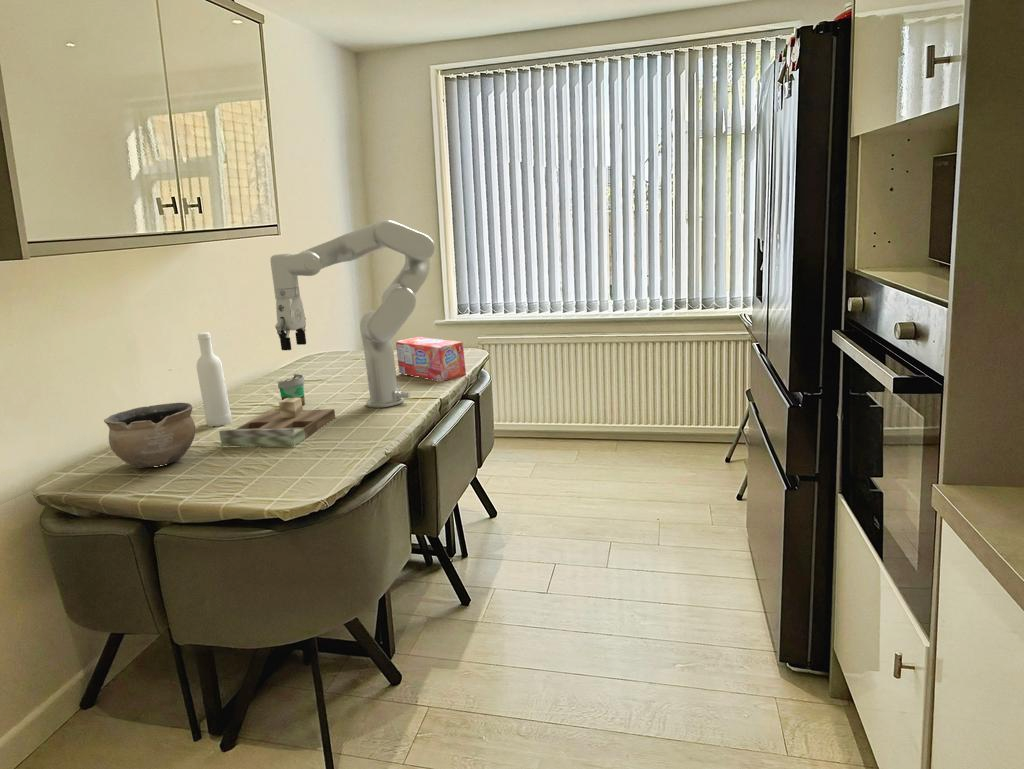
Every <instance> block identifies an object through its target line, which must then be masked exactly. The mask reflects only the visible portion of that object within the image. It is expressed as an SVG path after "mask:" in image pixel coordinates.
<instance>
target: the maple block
mask: <svg viewBox="0 0 1024 769" xmlns="http://www.w3.org/2000/svg"><path fill="white" fill-rule="evenodd" d="M278 405H279V411H280V413H281V418H291V417H297V416H299V415H301V414H302V413H303V410H304V408H303V406H302V401H301V398H286V399H284V400H282V399H281V401H279V402H278Z"/></svg>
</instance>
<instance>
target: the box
mask: <svg viewBox="0 0 1024 769" xmlns="http://www.w3.org/2000/svg"><path fill="white" fill-rule="evenodd" d="M395 345H396V346H395V347H396V354H397V355H396V356H397V365H398V366H397V367H398V374H399V373H401V374H407V375H413V376H419V377H423V378H428V379H433V380H432V381H434V380H438V381H437V382H440V381H442V382H445V380H446V381H449V379H450V380H452V379H456V378H460V377H463V376H466V375H467V373H466V372H467V370H466V362H465V351H464V342H463V341H456V340H448V339H441V338H432V337H425V336H415V337H411V338H405V339H401V340H400V339H399V340H396V344H395ZM401 374H400V375H401ZM407 375H406V376H407ZM423 378H422V379H423ZM428 379H427V380H428Z"/></svg>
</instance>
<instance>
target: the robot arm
mask: <svg viewBox="0 0 1024 769" xmlns="http://www.w3.org/2000/svg"><path fill="white" fill-rule="evenodd" d="M386 248H388V249H390V250H393V251H395V252H397V253H399V254H403V255H404V258H405V259H404V264H403V266H402V269H401V270H400V271H399V273H398V274H397V275H396V277H395V278H394V279H393V280H392V282H390V284H389V285H388V287H386V289H385V290H384V291H383V293H382V296H381V305H379V307H378V308H377V309H372V310H368V311H367V312H364V314H363V315H362V317H361V319H360V320H359V321H360V322H359V330H360V336H361V339H362V340H361V341H362V345H363V351H364V360H365V368H366V375H367V383H368V390H369V399H368V400H366V402H365V404H366V407H370V408H378V409H379V408H387V407H388V408H389V407H393V406H397V405H401V404H402V403H403V402H404V399H410V397H411V394H410V392H409V391H408V390H407V391H402V389H401V387H398V379H397V372H396V364H395V354H394V345H393V341H392V338H393V337H394V336H396V334H397V333H398V332H399V331H400V330H401V328H402V327H403V325H404V324H405V323H406V321H407V320H408V319H409V317H410V316H411V315H412V314H413V312H414V310H415V308H416V306H417V305H416V304H417V297H416V295H417V293H418V292H419V291H420V289H421V288H422V287H423V285H424V284H425V282H426V280H427V278H428V276H429V273H430V269H431V267H430V265H431V261H430V258H432V257H433V255H434V253H435V242H434V240H433V239H432V238H431V237H430V236H429V235H428V234H425V233H423V232H420V231H417V230H416V229H413V228H410V227H409V226H405V225H404V224H401V223H398V222H396V221H394V220H391V219H390V220H389V219H383V220H379V221H376V222H374V223H371V224H368V225H366V226H365V225H364V226H362V227H361V228H358V229H355V230H353V231H350V232H348V233H345V234H342V235H340V236H338V237H335V238H333V239H331V240H329V241H326V242H323V243H320V244H318V245H316V246H313V247H311V248H307V249H305V250H302V251H301V252H299V253H295V254H292V253H280V254H273V255H272V256H270V259H269V260H270V268H271V275H272V282H273V283H272V284H273V290H274V298H275V311H276V324H275V326H274V327H275V329H276V332H277V333H276V334H277V335H278V338H279V342H280V349H281V351H291V350H292V343H291V337H290V332H291V331H296V332H295V334H294V335H295V340H296V345H299V346H301V345H303V346H304V345H307V337H306V331H307V330H306V326H307V323H306V322H307V321H306V320H307V318H306V315H305V314H306V313H305V310H304V306H303V305H304V304H303V301H302V298H301V295H300V294H301V293H300V288H299V287H300V286H299V278H298V277H301V276H303V277H312V276H316V275H318V273H320V271H322V269H325V268H328V267H331V266H332V265H336V264H340V263H344V262H345V263H346V262H352V261H355V260H358V259H360V258H362V257H365V256H367V255H370V254H372V253H375V252H378V251H380V250H383V249H386Z"/></svg>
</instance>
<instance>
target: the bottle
mask: <svg viewBox="0 0 1024 769" xmlns="http://www.w3.org/2000/svg"><path fill="white" fill-rule="evenodd" d="M197 340H198V343H199V350H200V354H201V355H200V356H199V358H198V359H197V362H196V372H197V377H198V384H199V389H200V393H201V400H202V405H203V410H204V417H205V422H206V426H207V425H208V426H207V427H209V426H217V427H222V426H221V425H223V426H225V425H226V424H227V425H229V424H231V423H232V422H233V420H232V412H231V408H230V403H229V396H228V390H227V385H226V380H225V379H226V378H225V373H224V372H225V371H224V368H223V363H222V361H221V359H220V357H219V356H218V355H215V353H214V350H213V345H212V336H211V332H208V331H206V332H200V333H198V334H197Z"/></svg>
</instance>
